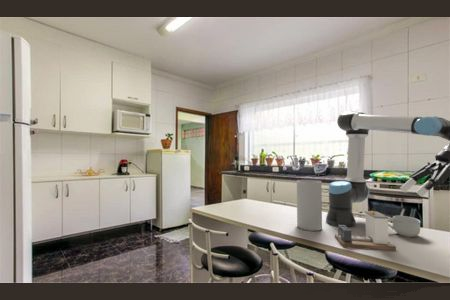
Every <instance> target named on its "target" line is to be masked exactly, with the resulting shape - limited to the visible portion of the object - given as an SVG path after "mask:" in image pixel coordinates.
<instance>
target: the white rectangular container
mask: <svg viewBox="0 0 450 300" xmlns="http://www.w3.org/2000/svg"><path fill="white" fill-rule="evenodd" d="M364 213H365V214H364V216H365V236H366V237H371V238H372V240H373V242H374V243H377V244H388V241H389V226H388V224H389V219H388V217H389V216H387V215H385V214H383V213H381V212H379V211H373V210H367V211H366V210H365V211H364ZM389 242H390V241H389Z"/></svg>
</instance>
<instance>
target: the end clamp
mask: <svg viewBox="0 0 450 300" xmlns="http://www.w3.org/2000/svg"><path fill="white" fill-rule="evenodd" d="M337 234H338V236H339V235H340V236H341V237H342V240H343V241H344V242H352V235H353V234H352V230H351V228H350V227H347V226H345V225H338V226H337Z"/></svg>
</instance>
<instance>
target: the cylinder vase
mask: <svg viewBox="0 0 450 300" xmlns="http://www.w3.org/2000/svg"><path fill="white" fill-rule="evenodd" d="M322 194H323V193H322V181H321V180H315V179H298V180H296V220H297V221H296V222H297V224H296V225H297V227H298V228H299V229H300V230H304V231H311V232H317V231H320V230H322V229H323V211H322V210H323V207H322V206H323V204H322V203H323V202H322V200H323V199H322Z"/></svg>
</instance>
